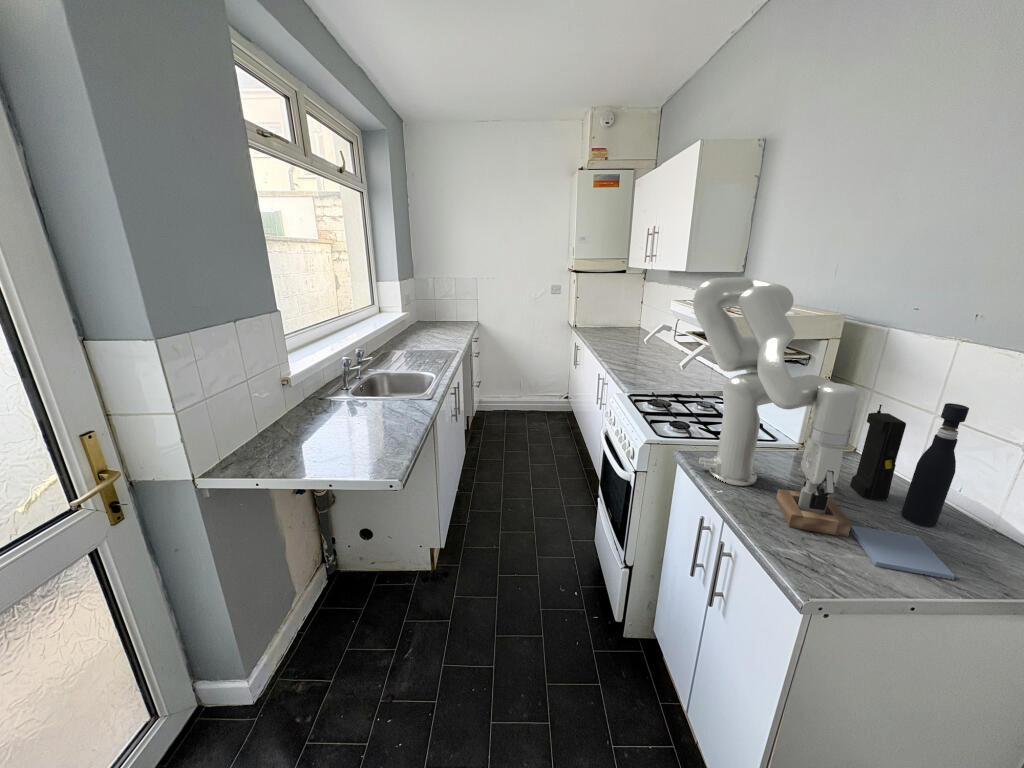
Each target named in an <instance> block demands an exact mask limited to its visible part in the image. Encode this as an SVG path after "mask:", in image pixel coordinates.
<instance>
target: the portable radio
mask: <svg viewBox="0 0 1024 768" xmlns="http://www.w3.org/2000/svg"><path fill="white" fill-rule="evenodd" d="M882 406H883V404H879V407H878V410H877V411H876V412H870V413H868V415H867V419H866V422H867V423H868V425H869V426H868V429H867V431H866V437H865V440H864V444H863V448H862V452H861V455H860V459H859V462H858V463H859V464H858V466H857V471H856V474H855V475H853V476H852V477H851V480H850V481H851V482H850V485H849V486H850V488H851V489H853V491H854V492H856V493H857V494H858V495H859V496H860V498H863V499H869V500H876V501H887V500H888V499H889V497H890V491H891V487H892V482H893V478H894V473H895V469H896V466H897V465H896V462H897V459H898V456H899V455H898V454H899V451H900V448H901V444H902V442H903V441H902V440H903V437H904V435H905V430H906V427H907V422H905V421H903V420H902V419H899V418H898V417H896V416H894V415H892V414H891V413H889V412H888V413H887V412H882V410H881V409H882Z"/></svg>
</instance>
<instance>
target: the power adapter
mask: <svg viewBox="0 0 1024 768" xmlns="http://www.w3.org/2000/svg"><path fill="white" fill-rule="evenodd" d="M822 483H825V481H822ZM824 487H825V486H819V489H821V488H822V489H823V488H824ZM814 488H815V484H812V483H811V482H810V480H807V481H806V486H805V487H803V486H802V488H801V490H800V492H801V493H800V498H799V502H798V507H799V509H800V510H801V511H807V512H814V513H820V514H825V511H826V508H825V510H817V509H811V508H810V507H809V504H810V499H811V495H812V493H814ZM828 499H829V497H828ZM827 503H828V500H827ZM826 507H827V504H826Z"/></svg>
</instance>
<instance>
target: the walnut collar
mask: <svg viewBox="0 0 1024 768" xmlns="http://www.w3.org/2000/svg"><path fill="white" fill-rule="evenodd" d="M800 493H801V491H797V490H788V489H783V488H781V489H780V488H778V489H777V493H776V497H775V501H776V503H777V506H778V507H779V510H780V511H781V513H782V515H783V518H784V520H785V522H786V524H787V526H788V527H789V528H794V529H798V530H799V529H800V530H807V531H813V532H818V533H824V534H829V535H836V536H842V537H848V538H849V534H850V532H851V531H850V527H851V526H852V522H851V521H850V520H849V519H848V516H847V515H846V514H845V513H844V511H843V510H842V509H841V507H840V506H839V505H838V504H837V502H836V501H835V499H834V498H833V496H831V495H829V499H828V503H827V507H826V511H825V514H820V513H814V512H807V511H801V510H800V509H799V507H798V502H799V498H800Z"/></svg>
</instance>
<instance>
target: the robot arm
mask: <svg viewBox="0 0 1024 768" xmlns="http://www.w3.org/2000/svg"><path fill="white" fill-rule="evenodd" d="M794 301H795V300H794V295H793V293H792V291H791V290H790V289H789V288H787V287H786V286H784V285H782V284H779V283H774V282H769V281H766V280H761V279H757V278H753V277H744V276H741V277H740V276H739V277H738V276H737V277H717V278H716V277H715V278H710V279H708V280H706V281H704V282H702V283H701V284H700V285H698V288H697V289H696V291H695V293H694V297H693V301H692V305H693V307H692V308H693V311H694V315H695V318H696V320H697V322H698V323H699V325H700V327H701V328H702V331H703V333H704V334H705V338H706V341H707V342H708V346H709V348H710V351H711V352H712V355H713V358H714V359H715V362H716V364H717V366H718V368H719V369H720V370H722V371H723V372H730V373H731V372H732V373H733V372H741V371H746V373H740V374H737V375H734V376H731V377H730V378H729V379H728V380H726V382H725V383H724V385H723V387H722V388H723V389H722V398H723V399H722V400H723V411H722V412H723V414H722V422H721V427H720V428H721V429H720V434H719V439H718V440H719V441H718V449H717V455H714V457H711V458H707V457H702V456H701V457H699V461H698V464H699V465H703V467H704V468H708V470H709V471H708V472H709V473H711V474H712V475H713V476H714V477H713V476H712V475H711V474H710V475H711V476H712V477H713V478H715V477H716V478H717V479H716V478H715V479H716V480H718V479H719V480H718V481H720V480H721V481H720V482H722V481H723V483H725V482H726V483H725V484H729V485H732V486H740V487H743V486H751V485H754V484H755V483H756V482H757V479H758V475H757V474H756V473H755V472H754V470H753V466H754V460H755V454H756V449H757V445H758V437H759V432H760V425H761V418H760V414H759V411H758V409H759V408H758V407H760V406H763V405H767V404H772V403H773V404H774V406H776V407H778V408H779V409H783V410H794V409H795V410H796V409H800V408H803V407H813V413H812V418H811V421H810V427H809V431H808V436H807V442H806V444H805V447H804V450H803V451H804V452H803V454H802V459H801V462H800V468H801V470H802V472H803V473H804V482H803V486H802V488H803V487H805V486H806V481H807V480H810V482H811V483H812V484H815V488H814V493H812V495H811V499H810V504H809V507H810V508H811V509H817V510H825V508H826V504H827V500H828V497H829V496H831V494H833V493H834V488H835V487H836V486H837V485H838V481H839V479H840V473H841V469H842V463H843V457H844V449H845V448H847V447H848V444H849V440H850V438H851V437H850V436H851V433H852V428H853V425H854V420H855V416H856V412H857V408H858V406H859V405H858V404H859V402H860V401H859V400H860V395H861V394H860V391H859V389H858V388H856V387H854V386H851V385H849V384H844V383H836V382H834V381H832V380H828V379H827V378H824V377H821V376H819V375H814V374H806V375H799V376H798V375H797V376H793V377H792V375H791V373H790V372H789V369H788V368H787V365H786V363H785V350H786V348H787V346H788V345H789V343H790V342H792V341H793V340H794V338H795V336H796V332H795V330H794V328H793V326H792V324H791V323H790V321H789V319H788V317H787V316H786V314H787V313H788V312H789V311H790V310H792V308H793V305H794ZM733 307H734V308H735V307H737V308H739V310H740V312H741V314H742V316H743V318H744V320H745V322H746V324H747V327H748V328H749V330H750V332H751V334H752V336H746V337H744V336H742V334H741V332H740V331H739V329H738V326H737V323H736V322H735V321H734V319H733V318H732V316H730V315H729V314H728V313H727V311H725V309H724V308H733ZM822 481H824V482H823V483H822ZM819 486H825V487H824V488H823V489H822V488H821V489H819Z"/></svg>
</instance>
